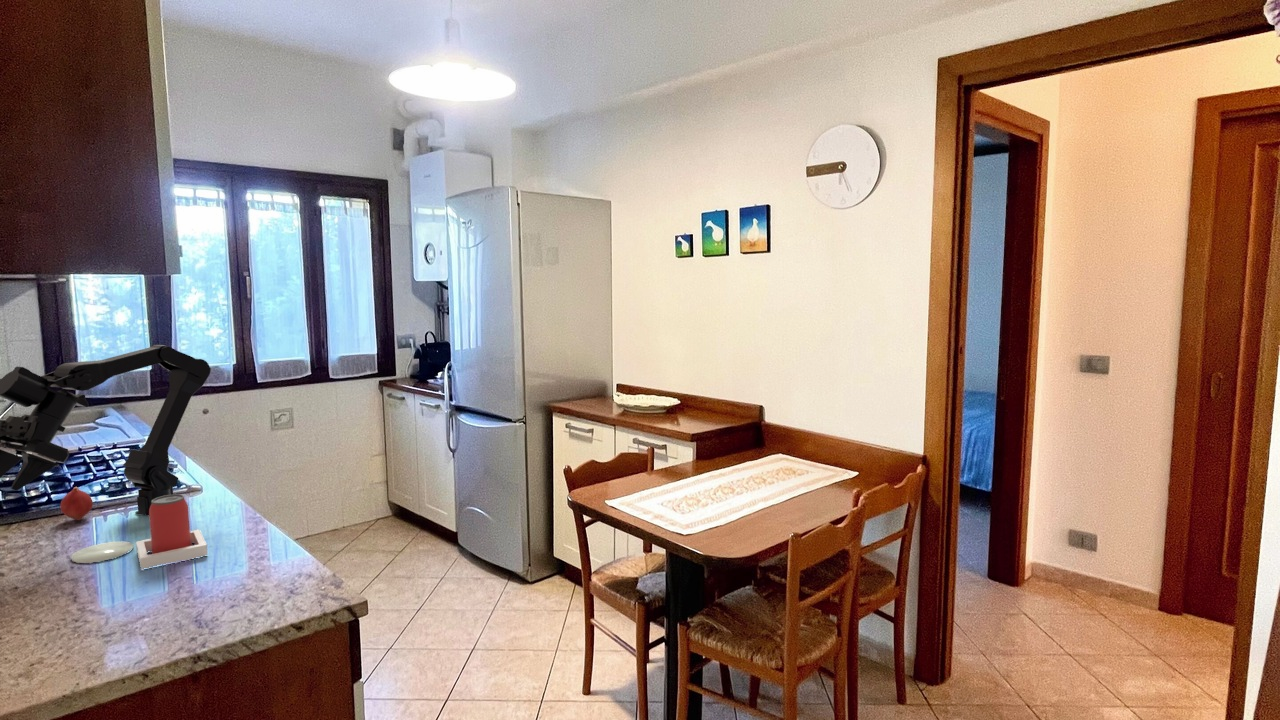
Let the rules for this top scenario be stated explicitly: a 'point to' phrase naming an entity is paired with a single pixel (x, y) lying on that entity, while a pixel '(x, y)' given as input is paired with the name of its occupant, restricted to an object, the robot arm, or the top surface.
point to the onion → (76, 504)
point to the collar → (171, 551)
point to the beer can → (169, 523)
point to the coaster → (101, 552)
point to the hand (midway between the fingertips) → (0, 487)
